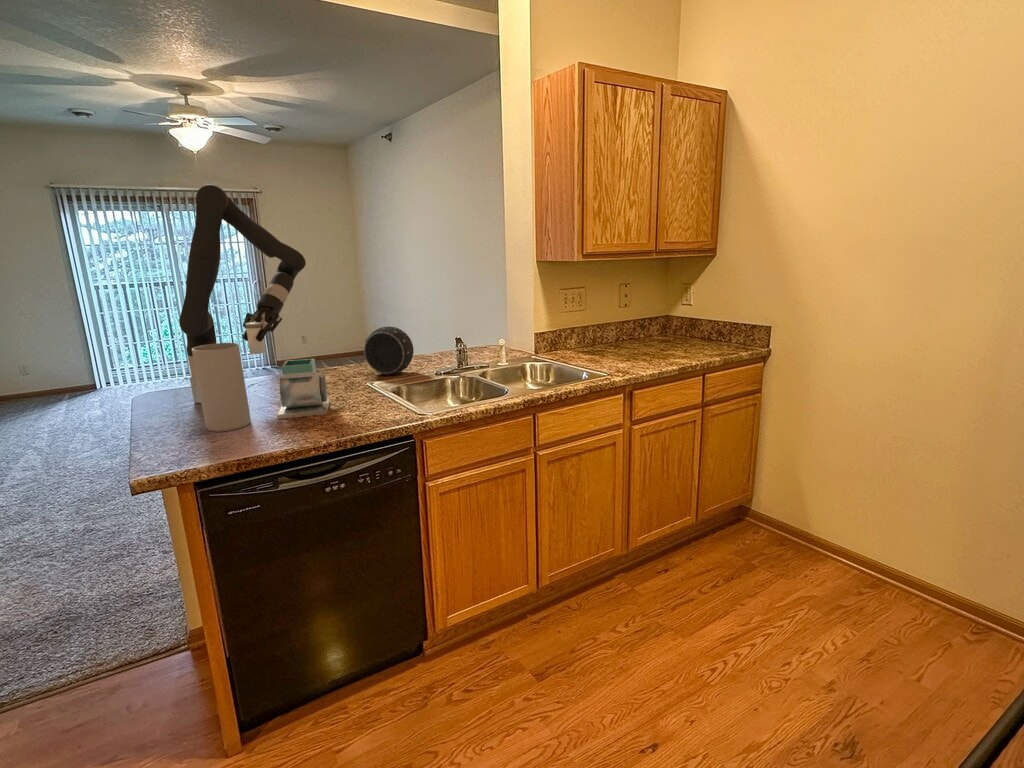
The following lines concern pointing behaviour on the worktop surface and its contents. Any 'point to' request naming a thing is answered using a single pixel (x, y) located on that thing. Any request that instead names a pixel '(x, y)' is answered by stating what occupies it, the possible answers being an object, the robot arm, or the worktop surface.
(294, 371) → the motor
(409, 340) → the black wheel
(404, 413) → the worktop surface
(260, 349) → the jar with metallic lid
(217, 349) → the cylinder vase
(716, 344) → the worktop surface
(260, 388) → the worktop surface
